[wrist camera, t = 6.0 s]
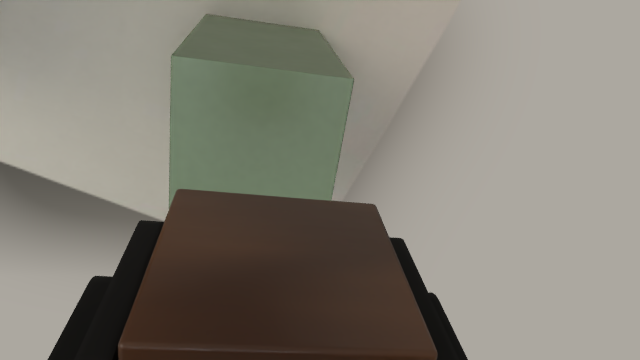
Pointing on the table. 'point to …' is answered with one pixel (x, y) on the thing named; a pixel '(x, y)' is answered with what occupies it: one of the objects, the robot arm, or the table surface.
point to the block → (273, 284)
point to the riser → (256, 110)
